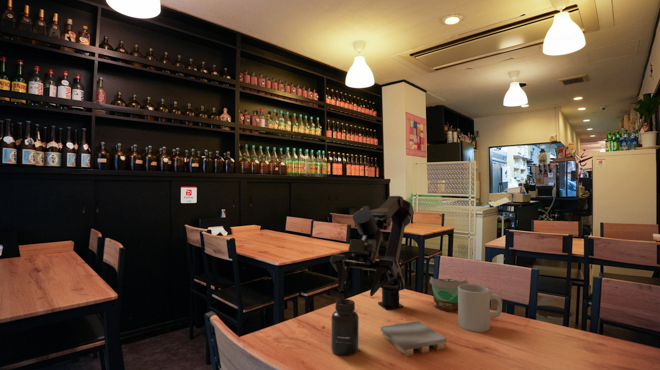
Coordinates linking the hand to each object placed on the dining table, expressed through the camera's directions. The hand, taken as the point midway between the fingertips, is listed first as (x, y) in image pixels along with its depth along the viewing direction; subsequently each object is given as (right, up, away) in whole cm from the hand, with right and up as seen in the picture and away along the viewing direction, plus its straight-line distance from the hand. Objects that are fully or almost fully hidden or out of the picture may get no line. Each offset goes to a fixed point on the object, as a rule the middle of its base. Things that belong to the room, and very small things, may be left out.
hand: (354, 293), depth 89 cm
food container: (+32, -13, +21) cm, 41 cm away
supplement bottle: (-3, -13, -6) cm, 14 cm away
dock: (+15, -12, -2) cm, 19 cm away
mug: (+37, -12, +8) cm, 40 cm away
